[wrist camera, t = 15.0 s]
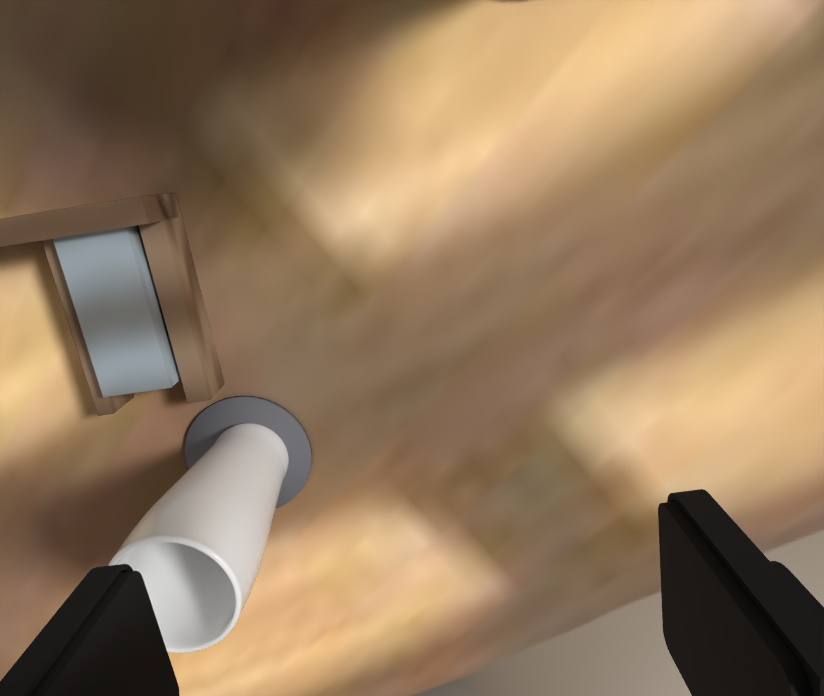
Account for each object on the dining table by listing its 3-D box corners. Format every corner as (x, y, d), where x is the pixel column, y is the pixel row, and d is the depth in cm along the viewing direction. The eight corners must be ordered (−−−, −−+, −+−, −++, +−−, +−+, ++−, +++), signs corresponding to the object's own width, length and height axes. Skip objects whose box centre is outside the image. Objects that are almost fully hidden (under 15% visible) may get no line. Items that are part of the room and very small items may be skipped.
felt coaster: (172, 405, 42) (170, 407, 42) (297, 387, 42) (296, 389, 42) (204, 516, 45) (202, 519, 44) (322, 501, 44) (322, 503, 44)
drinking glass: (313, 484, 44) (262, 639, 29) (225, 506, 44) (133, 669, 30) (282, 399, 42) (212, 520, 27) (191, 424, 42) (75, 555, 28)
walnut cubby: (-95, 235, 39) (-166, 245, 34) (175, 192, 38) (140, 196, 33) (-24, 419, 43) (-79, 451, 38) (224, 384, 42) (199, 412, 37)
